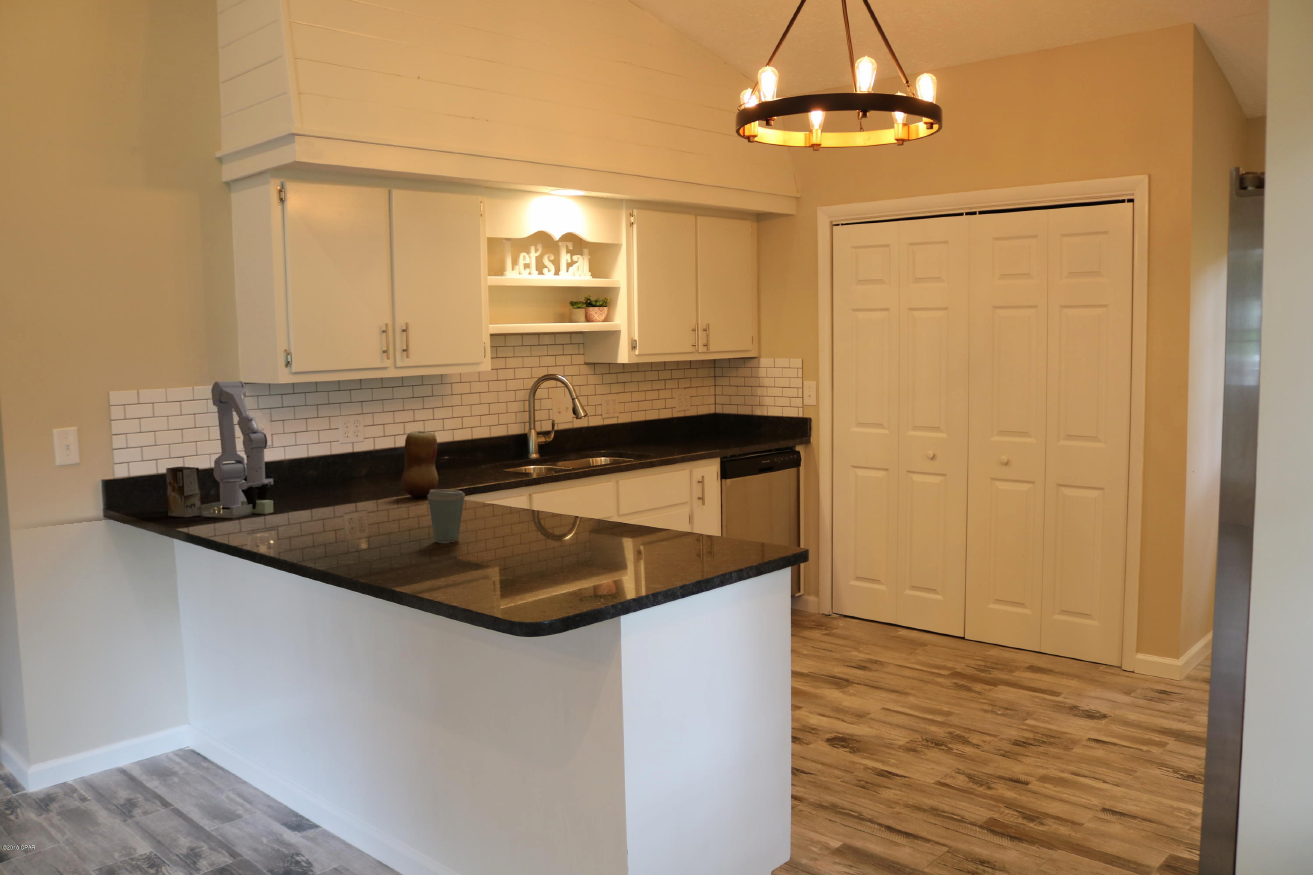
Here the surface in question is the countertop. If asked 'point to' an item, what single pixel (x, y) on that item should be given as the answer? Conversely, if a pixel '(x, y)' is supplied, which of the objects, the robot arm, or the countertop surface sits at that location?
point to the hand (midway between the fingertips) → (257, 507)
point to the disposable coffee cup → (446, 514)
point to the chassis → (217, 511)
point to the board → (261, 506)
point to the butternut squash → (420, 464)
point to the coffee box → (183, 491)
